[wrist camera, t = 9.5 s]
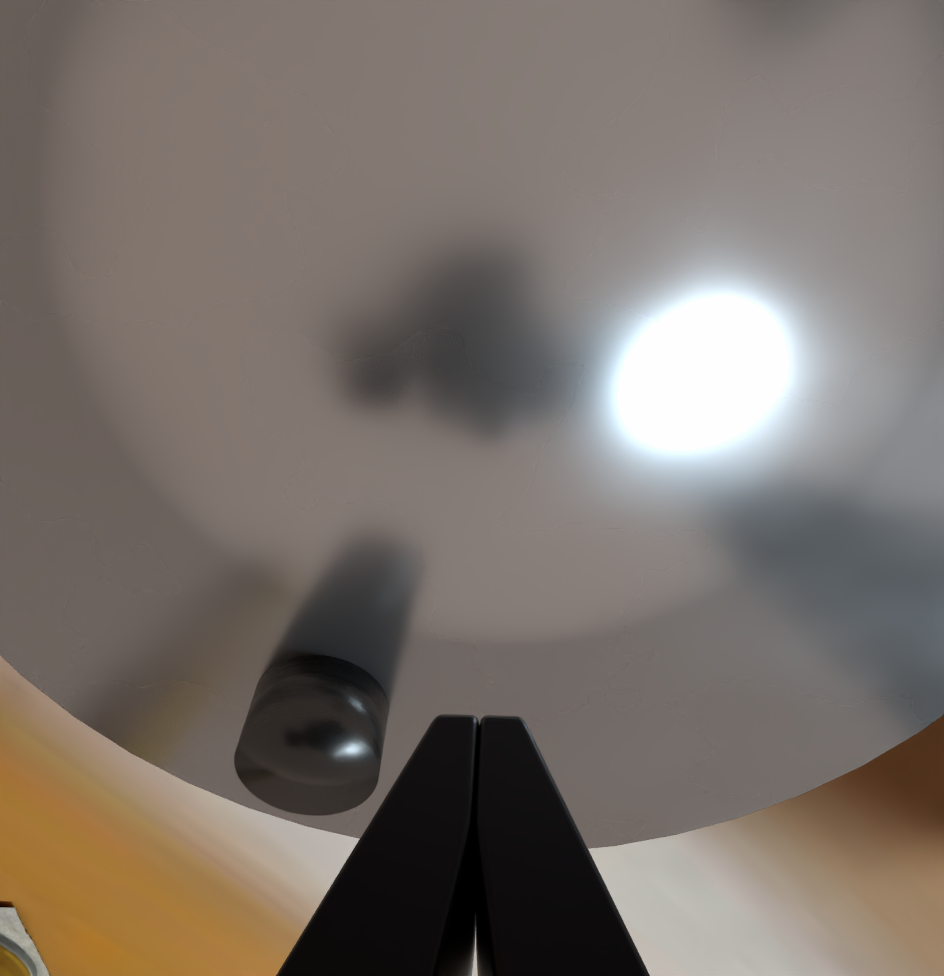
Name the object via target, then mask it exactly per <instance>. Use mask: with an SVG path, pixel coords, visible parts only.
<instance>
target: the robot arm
mask: <svg viewBox="0 0 944 976" xmlns="http://www.w3.org/2000/svg"><path fill="white" fill-rule="evenodd" d="M475 932H476V951H477V969H478V976H650V975H649V973H648V971H647V969H646V967H645V965H644V963H643V961H642V959H641V957H640V955H639V953H638V950H637V948H636V946H635V944H634V942H633V940H632V938H631V936H630V934H629V932H628V930H627V928H626V926H625V924H624V922H623V920H622V918H621V916H620V914H619V912H618V910H617V908H616V905H615V903H614V901H613V899H612V897H611V895H610V893H609V891H608V889H607V887H606V885H605V883H604V881H603V879H602V877H601V875H600V873H599V871H598V869H597V867H596V865H595V863H594V860H593V858H592V856H591V854H590V852H589V850H588V848H587V846H586V844H585V842H584V840H583V838H582V836H581V834H580V832H579V830H578V828H577V826H576V824H575V822H574V820H573V818H572V815H571V813H570V811H569V809H568V807H567V805H566V803H565V801H564V799H563V797H562V795H561V793H560V791H559V789H558V787H557V785H556V783H555V781H554V779H553V777H552V775H551V773H550V770H549V768H548V766H547V764H546V762H545V760H544V758H543V756H542V754H541V752H540V750H539V748H538V746H537V744H536V742H535V740H534V738H533V736H532V734H531V732H530V730H529V728H528V725H527V724H526V722H525V721H524V720H523V718H521V717H519V716H502V715H486V716H484V717H482V719H481V720H480V726H479V720H478V718H477V717H476V716H474V715H458V714H441V715H438V716H437V717H435V719H434V720H433V721H432V722H431V724H430V726H429V727H428V729H427V730H426V732H425V734H424V735H423V737H422V739H421V740H420V742H419V744H418V745H417V747H416V748H415V750H414V752H413V753H412V755H411V757H410V758H409V760H408V761H407V763H406V765H405V766H404V768H403V770H402V771H401V773H400V774H399V776H398V778H397V779H396V781H395V783H394V784H393V786H392V788H391V789H390V791H389V792H388V794H387V796H386V797H385V799H384V801H383V802H382V804H381V805H380V807H379V809H378V810H377V812H376V814H375V815H374V817H373V818H372V820H371V822H370V823H369V825H368V827H367V828H366V830H365V832H364V833H363V835H362V836H361V838H360V840H359V841H358V843H357V845H356V846H355V848H354V849H353V851H352V853H351V854H350V856H349V858H348V859H347V861H346V863H345V864H344V866H343V867H342V869H341V871H340V872H339V874H338V876H337V877H336V879H335V880H334V882H333V884H332V885H331V887H330V889H329V890H328V892H327V893H326V895H325V897H324V898H323V900H322V902H321V903H320V905H319V907H318V908H317V910H316V911H315V913H314V915H313V916H312V918H311V920H310V921H309V923H308V924H307V926H306V928H305V929H304V931H303V933H302V934H301V936H300V937H299V939H298V941H297V942H296V944H295V946H294V947H293V949H292V951H291V952H290V954H289V955H288V957H287V959H286V960H285V962H284V964H283V965H282V967H281V968H280V970H279V972H278V973H277V975H276V976H472V968H473V959H474V949H475Z"/></svg>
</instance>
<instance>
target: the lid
mask: <svg viewBox="0 0 944 976" xmlns="http://www.w3.org/2000/svg"><path fill="white" fill-rule="evenodd" d="M0 656H1V657H2V658H4V659H5V660H6V661H7V662H8V663H9V664H10V665H11V666H12V667H13V668H14V669H15V670H16V671H17V672H18V673H19V674H20V675H21V676H23V677H24V678H25V679H27V680H28V681H29V682H30V683H32V684H33V685H34V686H36V687H37V688H38V689H39V690H41V691H42V692H43V693H45V694H46V695H47V696H48V697H50V698H51V699H52V700H53V701H55V702H56V703H57V704H59V705H60V706H61V707H62V708H64V709H65V710H66V711H68V712H69V713H70V714H71V715H73V716H74V717H75V718H77V719H78V720H80V721H82V722H83V723H85V724H86V725H88V726H89V727H91V728H93V729H94V730H96V731H97V732H99V733H100V734H102V735H103V736H105V737H107V738H108V739H110V740H111V741H113V742H114V743H116V744H118V745H119V746H121V747H122V748H124V749H125V750H127V751H128V752H130V753H132V754H134V755H136V756H137V757H139V758H141V759H143V760H145V761H147V762H149V763H151V764H153V765H155V766H157V767H159V768H161V769H162V770H164V771H166V772H168V773H170V774H172V775H174V776H176V777H178V778H180V779H182V780H184V781H186V782H187V783H190V784H192V785H194V786H197V787H199V788H202V789H204V790H207V791H209V792H211V793H214V794H216V795H219V796H221V797H223V798H226V799H228V800H231V801H233V802H235V803H238V804H240V805H243V806H245V807H248V808H251V809H254V810H257V811H260V812H263V813H266V814H270V815H273V816H276V817H279V818H282V819H285V820H288V821H292V822H295V823H298V824H301V825H304V826H307V827H312V828H316V829H320V830H325V831H329V832H333V833H338V834H342V835H346V836H351V837H355V838H361V836H362V835H363V833H364V832H365V830H366V828H367V827H368V825H369V823H370V822H371V820H372V818H373V817H374V815H375V814H376V812H377V810H378V809H379V807H380V805H381V804H382V802H383V801H384V799H385V797H386V796H387V794H388V792H389V791H390V789H391V788H392V786H393V784H394V783H395V781H396V779H397V778H398V776H399V774H400V773H401V771H402V770H403V768H404V766H405V765H406V763H407V761H408V760H409V758H410V757H411V755H412V753H413V752H414V750H415V748H416V747H417V745H418V744H419V742H420V740H421V739H422V737H423V735H424V734H425V732H426V730H427V729H428V727H429V726H430V724H431V722H432V721H433V720H434V719H435V717H437V716H438V715H441V714H458V715H474V716H476V717H477V718H478V720H479V726H480V720H481V719H482V717H484V716H486V715H502V716H519V717H521V718H523V720H524V721H525V722H526V724H527V725H528V728H529V730H530V732H531V734H532V736H533V738H534V740H535V742H536V744H537V746H538V748H539V750H540V752H541V754H542V756H543V758H544V760H545V762H546V764H547V766H548V768H549V770H550V773H551V775H552V777H553V779H554V781H555V783H556V785H557V787H558V789H559V791H560V793H561V795H562V797H563V799H564V801H565V803H566V805H567V807H568V809H569V811H570V813H571V815H572V818H573V820H574V822H575V824H576V826H577V828H578V830H579V832H580V834H581V836H582V838H583V840H584V842H585V844H586V846H587V848H598V847H608V846H617V845H622V844H627V843H633V842H638V841H644V840H649V839H655V838H660V837H666V836H671V835H677V834H680V833H684V832H688V831H691V830H695V829H699V828H702V827H706V826H710V825H713V824H717V823H721V822H724V821H728V820H732V819H736V818H739V817H742V816H744V815H747V814H750V813H753V812H755V811H758V810H761V809H764V808H766V807H769V806H772V805H775V804H777V803H780V802H783V801H785V800H788V799H791V798H794V797H796V796H799V795H801V794H804V793H806V792H808V791H810V790H812V789H814V788H816V787H818V786H821V785H823V784H825V783H827V782H829V781H831V780H833V779H835V778H838V777H840V776H842V775H844V774H846V773H848V772H850V771H852V770H855V769H857V768H859V767H861V766H863V765H864V764H866V763H868V762H869V761H871V760H873V759H874V758H876V757H878V756H880V755H881V754H883V753H885V752H886V751H888V750H890V749H891V748H893V747H895V746H897V745H898V744H900V743H902V742H903V741H905V740H907V739H908V738H910V737H912V736H914V735H915V734H917V733H919V732H920V731H922V730H923V729H924V728H926V727H927V726H929V725H930V724H931V723H933V722H934V721H935V720H937V719H938V718H940V717H941V716H942V715H944V0H0Z"/></svg>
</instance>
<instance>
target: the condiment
mask: <svg viewBox="0 0 944 976" xmlns="http://www.w3.org/2000/svg"><path fill="white" fill-rule="evenodd" d="M0 976H49V973H48V971H47V968H46V966H45V964H44V963H43V961H42V959H41V957H40V955H39V953H38V952H37V949H36V947H35V945H34V943H33V941H32V940H31V939H30V937H29V935H28V934H26V932H25V929H24V927H23V925H22V923H21V921H20V919H19V917H18V915H17V912H16V910H15V908H4V907H0Z"/></svg>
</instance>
